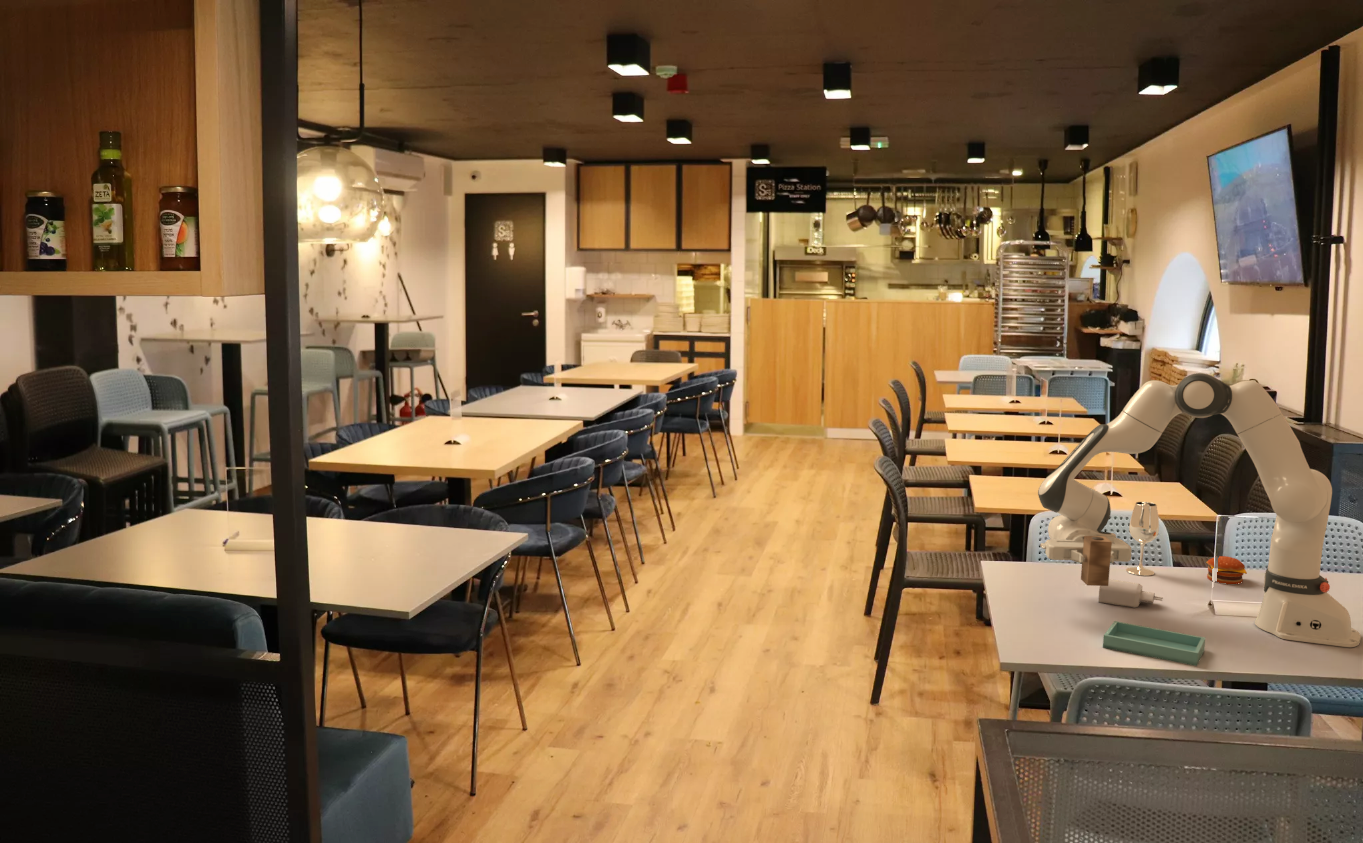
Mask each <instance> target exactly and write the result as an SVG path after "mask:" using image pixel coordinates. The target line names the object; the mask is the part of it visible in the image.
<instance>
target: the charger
mask: <svg viewBox="0 0 1363 843" xmlns="http://www.w3.org/2000/svg"><path fill="white" fill-rule="evenodd" d="M1163 599H1164V597H1162V596H1157V595H1156V594H1155V592H1151V591H1144V590H1143V585H1142V584H1141V583H1138V582H1132V581H1125V580H1116V579H1112V578H1109V583H1108V586H1099V591H1098V603H1101V604H1109V605H1115V606H1121V607H1128V608H1134V609H1135V608H1138V607H1139V606H1140V605H1141V604H1140V603H1147V604H1154V602H1155V601H1161V602H1162V601H1163Z"/></svg>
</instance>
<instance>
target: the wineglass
mask: <svg viewBox="0 0 1363 843" xmlns="http://www.w3.org/2000/svg"><path fill="white" fill-rule="evenodd" d="M1128 530H1129V534H1130V536H1131V537H1132V538H1133V540H1135V541H1136V542H1137V543H1139V545H1140V555H1139V556H1140V557H1139V564H1138V566H1137V567H1136V566H1135V567H1134V566H1133V567H1127V568H1126V569H1125V570H1126V572H1127V573H1128V574H1132V575H1136V576H1143V577H1146V576H1147V577H1149V576H1153V575H1155V571H1153V570H1152V569H1149V568H1145V567H1144V565H1143V559H1144V549H1145V545H1146V544H1149V543H1150V542H1153V541H1155V539H1156V538H1157V536H1158V535H1159V531H1160V520H1159V512H1158V505H1157V504H1156V503H1153V502H1149V501H1136V502H1135V503H1134V507H1133V510H1132V514H1131V516H1130V520H1129V527H1128Z"/></svg>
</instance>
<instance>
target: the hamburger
mask: <svg viewBox="0 0 1363 843" xmlns="http://www.w3.org/2000/svg"><path fill="white" fill-rule="evenodd" d="M1205 563H1206V564H1207V565H1208V566H1207V571H1208V572H1207V574H1206V577H1207V579H1208V580H1209V581H1211V582H1213V581H1212V569H1213V568H1214V557H1213V558H1212V557H1211V558H1210V559H1207V561H1206V562H1205ZM1245 568H1246V566H1245V564H1244V563H1243V562H1242V561H1240V560H1239V559H1237V558H1235V557H1232V556H1227V555H1226V556H1225V555H1222V556H1220V555H1219V558H1218V572H1217V582H1219V583H1218V584H1221V583H1226V584H1225V585H1228V584H1237V585H1239V584H1238V583H1241V582H1242V583H1243V580H1244V579H1243V576H1244V574H1245V575H1246V574H1248V572H1247V570H1246V569H1245ZM1242 583H1241V584H1242Z"/></svg>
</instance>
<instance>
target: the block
mask: <svg viewBox="0 0 1363 843" xmlns="http://www.w3.org/2000/svg"><path fill="white" fill-rule="evenodd" d="M1111 546H1112V542H1111V541H1110V540H1109V539H1108V538H1106V537H1105V536H1084V544H1083V554H1086V555H1087V559H1086V560H1087V562H1082V563H1081V573H1080V580H1081V581H1082V582H1083V583H1084V584H1085V585H1086V586H1093V587H1094V586H1095V587H1096V586H1099V587H1100V586H1108V583H1109V579H1110V570H1111V563H1110V558H1111Z"/></svg>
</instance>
